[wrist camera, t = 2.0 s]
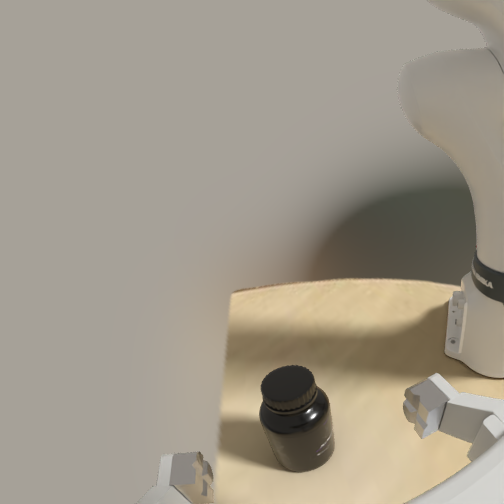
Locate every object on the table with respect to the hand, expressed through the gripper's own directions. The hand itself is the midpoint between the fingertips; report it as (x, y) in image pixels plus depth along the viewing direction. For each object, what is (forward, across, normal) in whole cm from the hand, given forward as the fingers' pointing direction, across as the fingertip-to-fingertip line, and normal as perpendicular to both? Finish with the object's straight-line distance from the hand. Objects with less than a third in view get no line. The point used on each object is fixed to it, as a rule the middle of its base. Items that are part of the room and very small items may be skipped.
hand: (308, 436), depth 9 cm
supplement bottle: (+13, 0, +20) cm, 24 cm away
